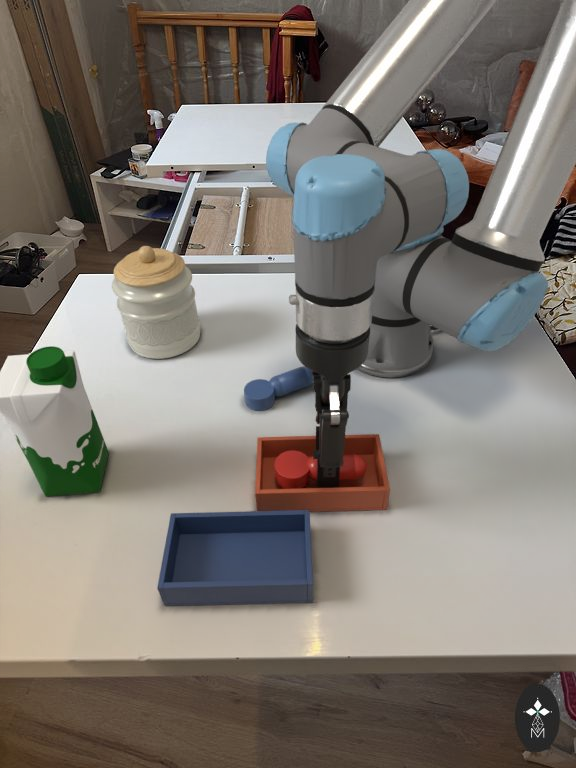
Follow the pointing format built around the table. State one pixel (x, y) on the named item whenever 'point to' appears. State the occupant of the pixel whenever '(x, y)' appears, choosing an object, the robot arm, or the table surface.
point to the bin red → (348, 497)
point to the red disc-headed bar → (312, 469)
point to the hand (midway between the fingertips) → (326, 473)
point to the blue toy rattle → (275, 387)
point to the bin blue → (237, 558)
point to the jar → (156, 303)
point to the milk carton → (53, 421)
